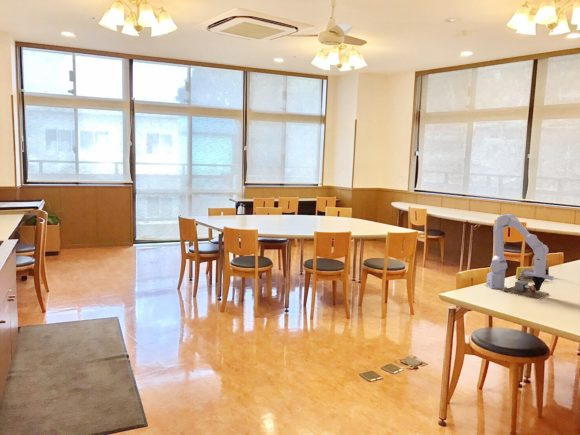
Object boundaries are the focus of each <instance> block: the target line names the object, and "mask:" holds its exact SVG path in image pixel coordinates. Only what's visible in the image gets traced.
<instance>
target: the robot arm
mask: <svg viewBox="0 0 580 435" xmlns="http://www.w3.org/2000/svg"><path fill="white" fill-rule="evenodd" d="M507 227H511V228H514V229H516V231H518V233H520V235H522V236H523V237H524V242H525V243H526V244H528V246H529V247H530V248H531V249H532V252H533V254H534V272H525V275H526V276H532V277H533V278H532V281H533V283H534V285H535V288H536V291H541V287H542V286H543V283H544V282H545V280H548V281H549V280H550V281H554V278H555V276H553V275H550V274H549V275H545V274H546V273H545V268H546V265H547V257H548V254H549V247H548V245H547V244H544V243H543V241H540V240H539V239H538V236H537V235H536V234H532V233H530V232H529V231H528V230H527V228H526V227H525V226H524V225H523V224H522V223H521V221H520V219H519V218H518V217H516V215H515V214H513V213H507V214H506V213H505V214H504V213H502V214H500V215H499V216H498V217H497V218H496V221H495V223H494V225H493V228H492V229H493V257H492V259H491V263H490V267H489V268H490V270H491V272H488V273H487V274H486V284H485V286H486V285H487V287H488V286H489V287H488V288H490V287H491V289H507V288H508V287H507V286H505V280H506V270H507V269H508V262H507V259H506V256H505V246H504V242H505V241H504V237H505V236H504V230H505V229H506V228H507Z"/></svg>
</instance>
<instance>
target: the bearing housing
mask: <svg viewBox="0 0 580 435" xmlns="http://www.w3.org/2000/svg"><path fill="white" fill-rule="evenodd" d="M524 285H529V281H527V280H516V281H515V283H514V286H515V291H519V292H524V291H527V290H528V289H524Z"/></svg>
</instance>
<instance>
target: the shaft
mask: <svg viewBox="0 0 580 435" xmlns="http://www.w3.org/2000/svg"><path fill="white" fill-rule="evenodd" d="M524 289H529V290H531V292H534V293H535V292H536V288H535V284H533V283H532V284H531V285H529V284H528V285H524Z"/></svg>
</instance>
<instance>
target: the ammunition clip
mask: <svg viewBox="0 0 580 435" xmlns="http://www.w3.org/2000/svg"><path fill="white" fill-rule="evenodd" d="M534 260H535V256H532V260H531V261H532V262H531V266H530V267H534ZM549 271H550V260H549V258H548V259H546V268H545V275H549V276H550V272H549Z"/></svg>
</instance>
